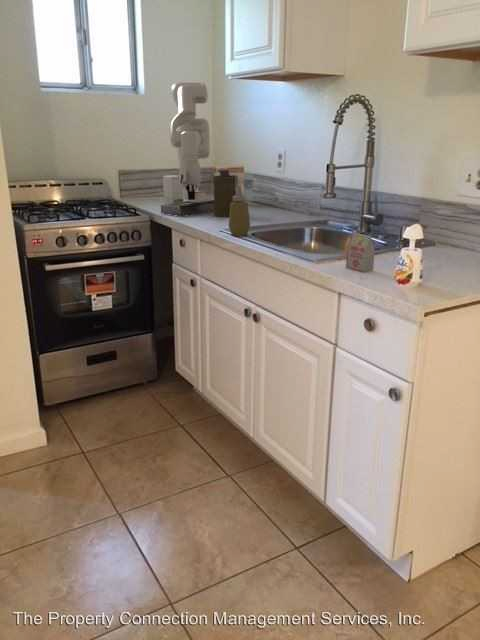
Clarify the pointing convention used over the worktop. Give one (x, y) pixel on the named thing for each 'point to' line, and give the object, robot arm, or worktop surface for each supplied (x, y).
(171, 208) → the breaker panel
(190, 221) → the worktop surface
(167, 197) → the skincare box
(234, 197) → the squeeze bottle
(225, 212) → the canister
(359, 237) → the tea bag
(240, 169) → the coffeecake box
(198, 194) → the block
